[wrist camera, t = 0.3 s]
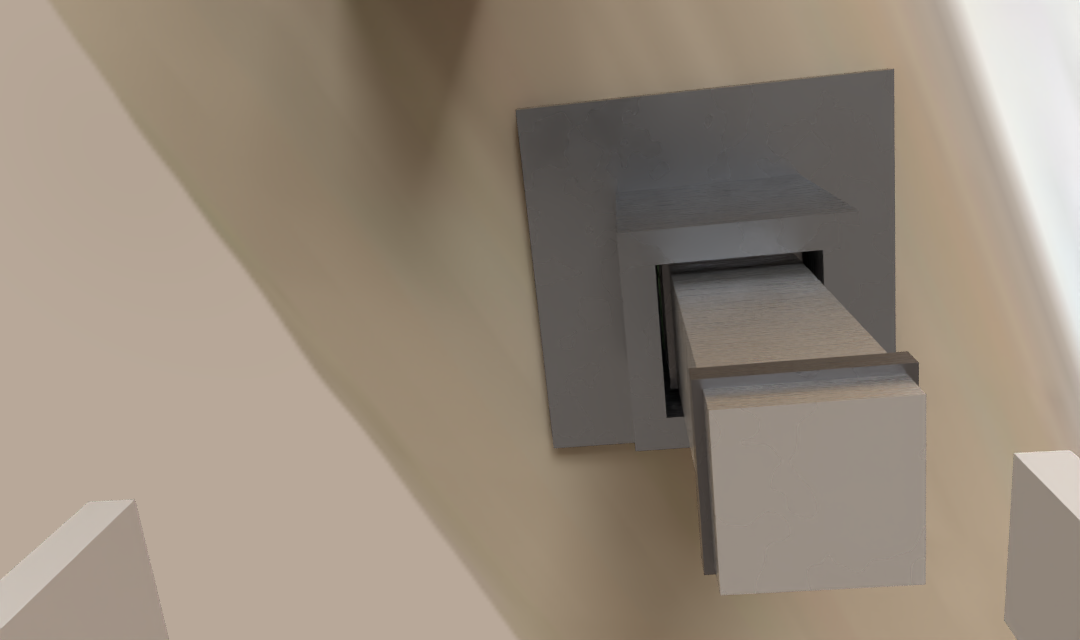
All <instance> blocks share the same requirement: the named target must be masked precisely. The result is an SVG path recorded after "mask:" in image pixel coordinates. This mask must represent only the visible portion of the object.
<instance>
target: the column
mask: <svg viewBox="0 0 1080 640" xmlns="http://www.w3.org/2000/svg"><path fill="white" fill-rule="evenodd" d="M657 276H658V290H659V303H660V316H661V329H662V342H663V348H664V349H665V357H666V365H667V368H669V381H670V387H671V389H679V394H680V399H681V404H682V409H683V414H684V419H685V424H686V429H687V434H688V438H689V443H690V448H691V453H692V458H693V463H694V468H695V474H696V488H697V503H698V517H699V532H700V546H701V559H702V564H703V570H704V575H710V574H716V576H717V581H718V586H719V591H720V595H737V594H756V593H774V592H793V591H812V590H831V589H850V588H869V587H888V586H907V585H926V394H925V393H924V392H923V390H922V389H921V388H920V387H919V362H918V361H917V360H916V359H915V358H914V357H913V356H912V355H911V354H910V353H909V352H894V353H887V352H886V351H885V350H884V349H883V348H882V347H881V346H880V345H879V344H878V343H877V342H876V340H875V339H874V338H873V337H872V336H871V335H870V334H869V333H868V332H867V331H866V330H865V329H864V328H863V327H862V326H861V324H860V323H859V322H858V321H857V320H856V319H855V318H854V317H853V316H852V315H851V314H850V313H849V312H848V311H847V310H846V309H845V307H844V306H843V305H842V304H841V303H840V302H839V301H838V300H837V299H836V298H835V297H834V296H833V295H832V294H831V293H830V291H829V290H828V289H827V288H826V287H825V286H824V285H823V284H822V283H821V282H820V281H819V280H818V279H817V278H816V277H815V276H814V274H813V273H812V272H811V271H810V270H809V269H808V268H807V267H806V266H805V265H804V264H803V263H802V252H793V253H782V254H771V255H760V256H749V257H738V258H726V259H715V260H704V261H693V262H682V263H671V264H659V265H657Z"/></svg>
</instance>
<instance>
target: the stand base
mask: <svg viewBox="0 0 1080 640" xmlns="http://www.w3.org/2000/svg"><path fill="white" fill-rule="evenodd" d="M516 117H517V126H518V135H519V144H520V152H521V161H522V170H523V179H524V188H525V197H526V206H527V214H528V223H529V232H530V241H531V250H532V259H533V268H534V277H535V285H536V294H537V303H538V312H539V321H540V330H541V339H542V348H543V356H544V365H545V374H546V383H547V392H548V401H549V410H550V419H551V427H552V436H553V445H554V448H565V447H579V446H594V445H608V444H622V443H635V450H636V451H646V450H660V449H675V448H689V447H690V443H689V438H688V434H687V429H686V424H685V419H684V414H683V409H682V404H681V399H680V394H679V389H671V387H670V381H669V368H667V365H666V357H665V349H664V348H663V342H662V329H661V316H660V303H659V290H658V276H657V265H659V264H671V263H682V262H693V261H704V260H715V259H726V258H738V257H749V256H760V255H771V254H782V253H793V252H802V263H803V264H804V265H805V266H806V267H807V268H808V269H809V270H810V271H811V272H812V273H813V274H814V276H815V277H816V278H817V279H818V280H819V281H820V282H821V283H822V284H823V285H824V286H825V287H826V288H827V289H828V290H829V291H830V293H831V294H832V295H833V296H834V297H835V298H836V299H837V300H838V301H839V302H840V303H841V304H842V305H843V306H844V307H845V309H846V310H847V311H848V312H849V313H850V314H851V315H852V316H853V317H854V318H855V319H856V320H857V321H858V322H859V323H860V324H861V326H862V327H863V328H864V329H865V330H866V331H867V332H868V333H869V334H870V335H871V336H872V337H873V338H874V339H875V340H876V342H877V343H878V344H879V345H880V346H881V347H882V348H883V349H884V350H885V351H886V352H887V353H894V352H896V335H895V160H894V69H881V70H872V71H863V72H854V73H844V74H835V75H826V76H817V77H807V78H798V79H789V80H780V81H770V82H761V83H752V84H743V85H733V86H724V87H715V88H706V89H696V90H687V91H678V92H669V93H659V94H650V95H641V96H632V97H622V98H613V99H604V100H595V101H585V102H576V103H567V104H558V105H548V106H539V107H530V108H521V109H517V110H516Z"/></svg>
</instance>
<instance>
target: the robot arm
mask: <svg viewBox="0 0 1080 640" xmlns="http://www.w3.org/2000/svg"><path fill="white" fill-rule="evenodd" d="M1004 621H1005V622H1006V624H1007V625H1008V627H1009V628H1010V630H1011V631H1012V633H1013V634H1014V636H1015V637H1016V639H1017V640H1080V458H1079V457H1078V456H1076V455H1075V454H1074V453H1073V452H1072V451H1071V450H1063V451H1044V452H1025V453H1014V458H1013V476H1012V493H1011V510H1010V527H1009V545H1008V562H1007V579H1006V596H1005V614H1004ZM0 640H169V637H168V633H167V629H166V625H165V621H164V617H163V613H162V608H161V605H160V600H159V596H158V592H157V588H156V584H155V580H154V575H153V572H152V567H151V563H150V559H149V555H148V551H147V547H146V543H145V538H144V535H143V530H142V526H141V522H140V518H139V514H138V510H137V506H136V501H135V499H131V500H112V501H94V502H93V501H92V502H88V503H86V504H85V505H84V506H83V507H82V508H81V509H80V510H79V511H77V512H76V513H75V514H74V515H73V516H72V517H71V518H69V519H68V520H67V521H66V522H65V523H64V524H63V525H62V526H60V527H59V528H58V529H57V530H56V531H55V532H54V533H53V534H52V535H50V536H49V537H48V538H47V539H46V540H45V541H44V542H42V543H41V544H40V545H39V546H38V547H37V548H36V549H34V550H33V551H32V552H31V553H30V554H29V555H28V556H27V557H25V558H24V559H23V560H22V561H21V562H20V563H19V564H17V566H15V567H14V568H13V569H12V570H11V571H10V572H8V573H7V574H6V575H5V576H4V577H3V578H2V579H1V580H0Z"/></svg>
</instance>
